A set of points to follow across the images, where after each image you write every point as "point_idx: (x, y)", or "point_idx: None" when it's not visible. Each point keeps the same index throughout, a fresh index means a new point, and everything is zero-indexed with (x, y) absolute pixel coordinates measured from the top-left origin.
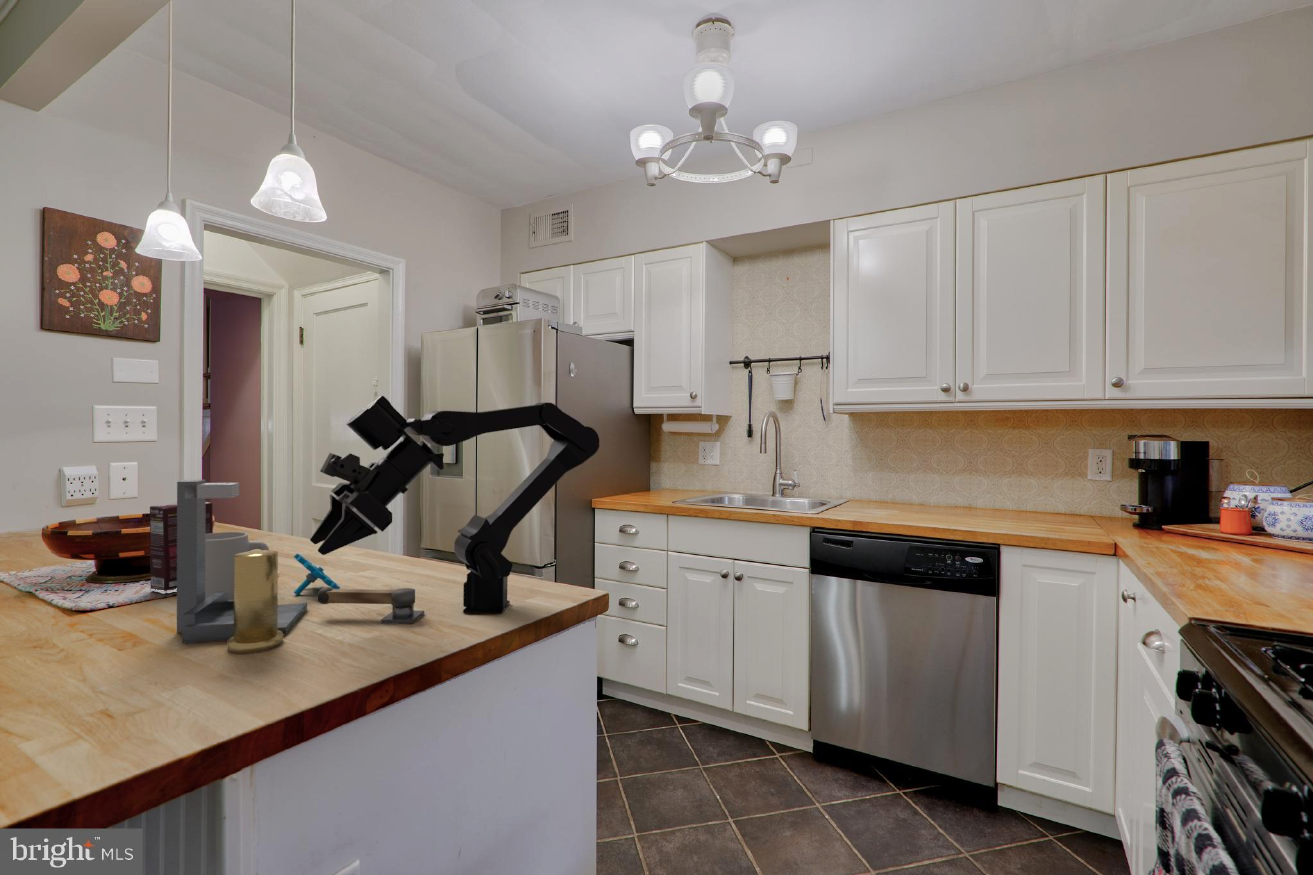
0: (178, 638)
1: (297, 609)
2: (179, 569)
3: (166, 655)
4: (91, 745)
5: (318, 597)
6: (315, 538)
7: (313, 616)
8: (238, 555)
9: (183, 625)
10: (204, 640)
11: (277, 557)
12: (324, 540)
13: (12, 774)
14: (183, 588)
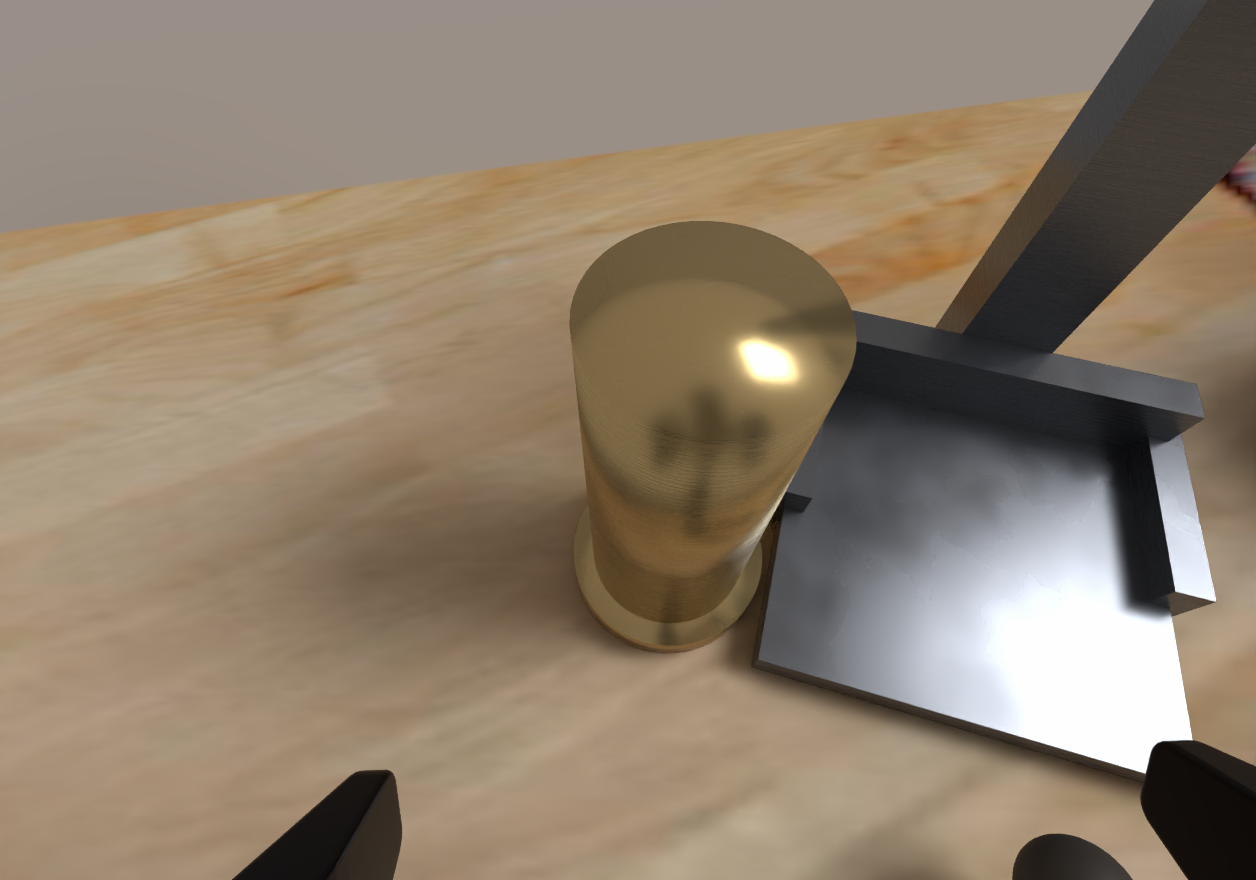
0: None
1: (1063, 729)
2: (1047, 167)
3: None
4: (156, 284)
5: (1036, 841)
6: (1199, 810)
7: (1034, 814)
8: (704, 239)
9: None
10: None
11: (686, 456)
12: (320, 872)
13: (135, 215)
14: (998, 249)
